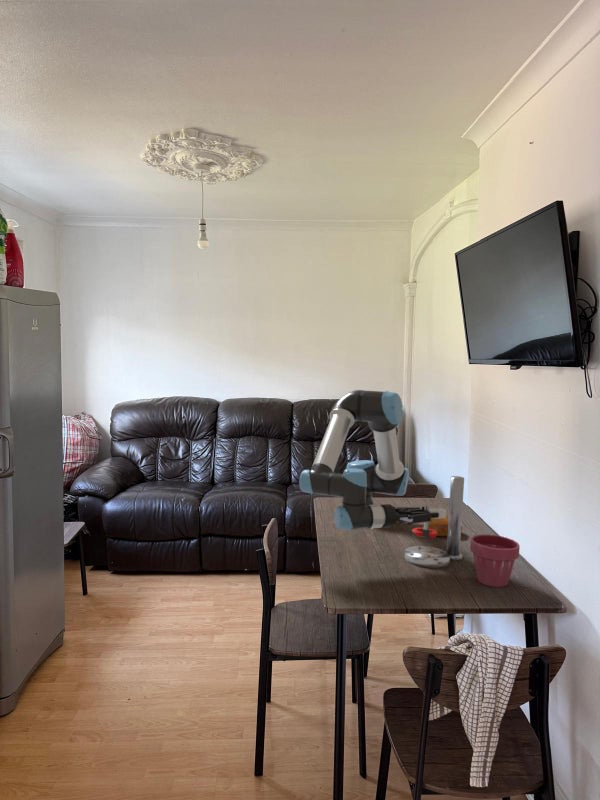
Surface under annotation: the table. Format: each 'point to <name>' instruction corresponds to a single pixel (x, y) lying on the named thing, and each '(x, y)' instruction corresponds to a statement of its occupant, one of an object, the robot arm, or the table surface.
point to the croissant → (440, 526)
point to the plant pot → (494, 558)
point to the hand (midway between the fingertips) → (444, 513)
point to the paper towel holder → (440, 557)
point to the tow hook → (425, 527)
